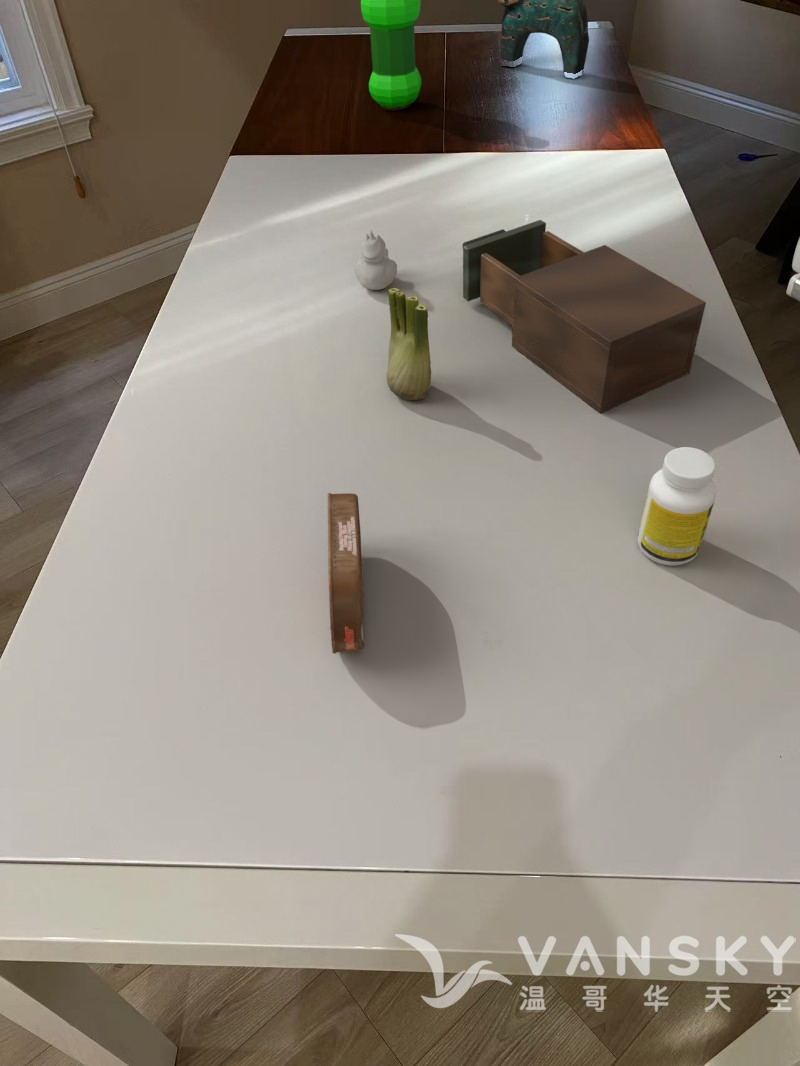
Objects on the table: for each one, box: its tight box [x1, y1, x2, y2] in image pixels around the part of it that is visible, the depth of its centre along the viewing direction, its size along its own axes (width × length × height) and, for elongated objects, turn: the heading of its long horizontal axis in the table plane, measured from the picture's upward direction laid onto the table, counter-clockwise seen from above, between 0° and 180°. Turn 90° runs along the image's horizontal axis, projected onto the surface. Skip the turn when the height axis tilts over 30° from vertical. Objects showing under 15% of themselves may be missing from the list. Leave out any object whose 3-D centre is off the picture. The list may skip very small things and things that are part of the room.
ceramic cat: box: [496, 0, 590, 74], centre depth 159 cm, size 20×6×20 cm, turn 50°
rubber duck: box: [354, 229, 398, 291], centre depth 106 cm, size 5×7×8 cm
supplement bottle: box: [637, 446, 717, 566], centre depth 70 cm, size 5×5×10 cm
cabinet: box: [511, 244, 707, 414], centre depth 91 cm, size 16×13×9 cm
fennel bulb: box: [386, 287, 432, 401], centre depth 88 cm, size 6×5×12 cm
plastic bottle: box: [360, 0, 422, 108], centre depth 147 cm, size 10×10×25 cm
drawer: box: [462, 219, 585, 327], centre depth 100 cm, size 19×12×7 cm, turn 31°
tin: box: [327, 492, 365, 655], centre depth 68 cm, size 15×3×8 cm, turn 4°
